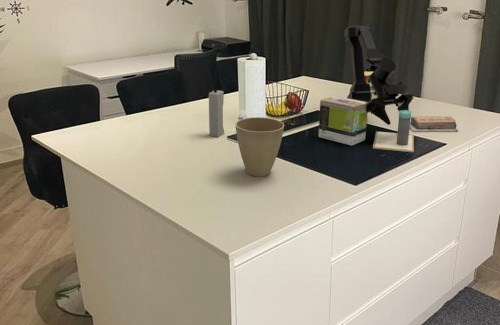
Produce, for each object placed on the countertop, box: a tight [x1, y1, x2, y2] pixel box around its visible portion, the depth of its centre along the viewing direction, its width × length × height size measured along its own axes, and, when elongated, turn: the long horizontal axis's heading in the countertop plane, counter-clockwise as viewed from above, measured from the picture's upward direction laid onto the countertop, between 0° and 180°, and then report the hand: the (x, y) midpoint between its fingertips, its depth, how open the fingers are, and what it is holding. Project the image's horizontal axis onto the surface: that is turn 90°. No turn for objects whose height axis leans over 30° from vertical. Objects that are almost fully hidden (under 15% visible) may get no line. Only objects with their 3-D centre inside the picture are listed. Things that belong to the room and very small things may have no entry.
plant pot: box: [234, 116, 285, 177], centre depth 164 cm, size 15×15×16 cm
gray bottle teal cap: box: [397, 109, 412, 145], centre depth 189 cm, size 4×4×12 cm
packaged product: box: [409, 115, 459, 133], centre depth 211 cm, size 18×5×10 cm
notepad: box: [372, 130, 415, 153], centre depth 195 cm, size 14×19×1 cm
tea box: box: [318, 95, 368, 146], centre depth 196 cm, size 15×10×15 cm
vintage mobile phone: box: [208, 69, 225, 138], centre depth 196 cm, size 4×5×25 cm
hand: (399, 122), depth 191 cm, fingers open, 9 cm apart
